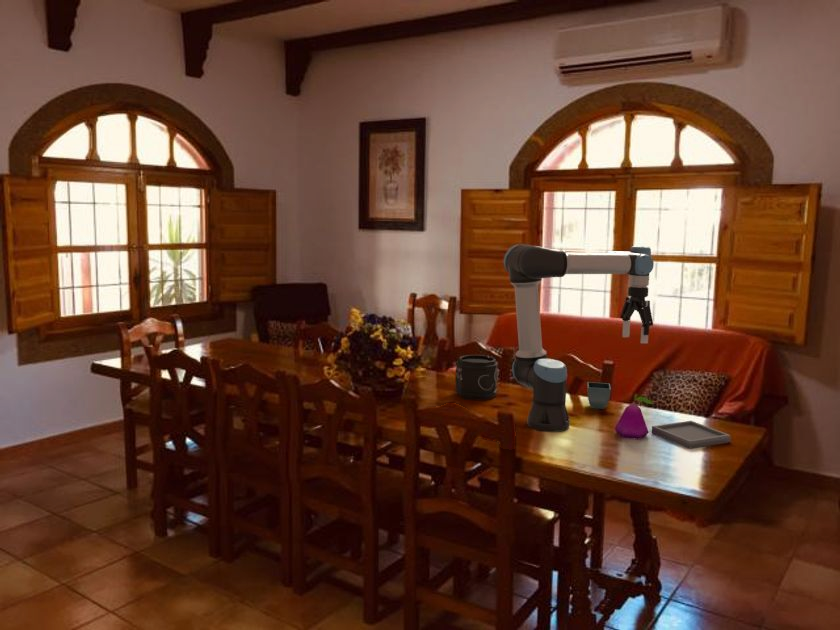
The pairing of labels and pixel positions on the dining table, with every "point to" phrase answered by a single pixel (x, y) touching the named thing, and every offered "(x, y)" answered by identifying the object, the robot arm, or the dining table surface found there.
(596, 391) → the flower pot
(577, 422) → the dining table surface
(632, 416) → the pear
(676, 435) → the grey square tray
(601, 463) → the dining table surface
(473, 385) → the dark grey canister
